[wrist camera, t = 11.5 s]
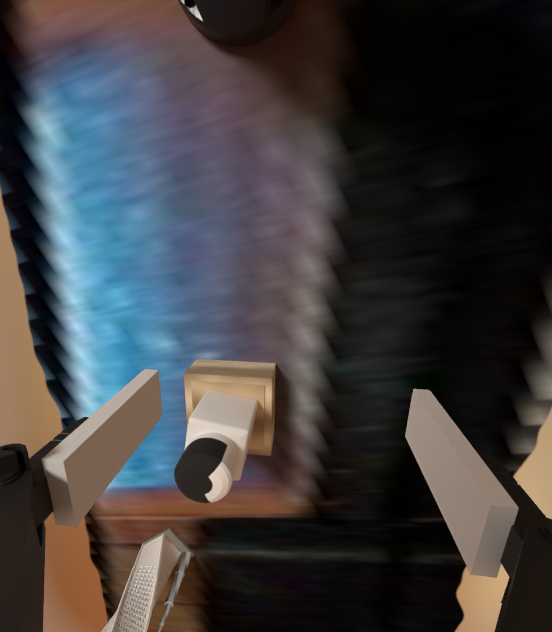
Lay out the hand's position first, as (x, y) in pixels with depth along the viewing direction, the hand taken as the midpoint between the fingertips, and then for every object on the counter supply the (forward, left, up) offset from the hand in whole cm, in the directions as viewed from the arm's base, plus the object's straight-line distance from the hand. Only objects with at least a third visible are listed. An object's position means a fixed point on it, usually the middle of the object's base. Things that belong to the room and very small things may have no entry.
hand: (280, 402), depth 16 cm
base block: (+16, -9, -28) cm, 33 cm away
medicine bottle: (+16, -9, -23) cm, 29 cm away
